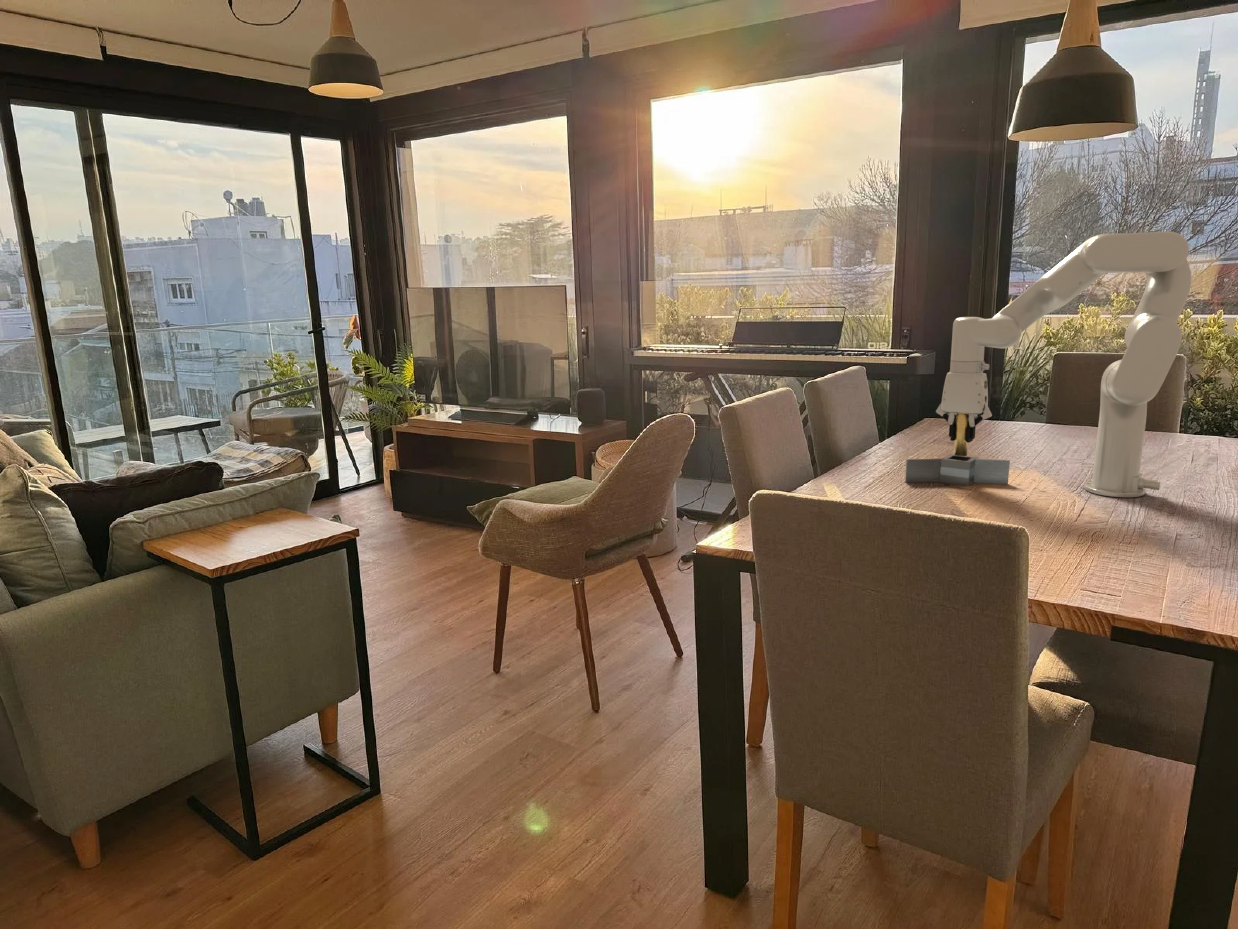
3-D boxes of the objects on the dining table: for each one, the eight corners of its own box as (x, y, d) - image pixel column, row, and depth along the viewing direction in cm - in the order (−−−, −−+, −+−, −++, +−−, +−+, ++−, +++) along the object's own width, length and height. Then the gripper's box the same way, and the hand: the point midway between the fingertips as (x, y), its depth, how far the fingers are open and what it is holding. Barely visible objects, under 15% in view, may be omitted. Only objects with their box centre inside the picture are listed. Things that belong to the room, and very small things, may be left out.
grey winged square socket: (1008, 483, 210) (1010, 460, 209) (993, 494, 200) (995, 470, 199) (922, 472, 223) (923, 450, 222) (904, 482, 213) (905, 459, 212)
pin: (968, 454, 212) (972, 407, 210) (964, 456, 210) (968, 409, 207) (955, 452, 214) (959, 406, 211) (951, 455, 212) (955, 408, 209)
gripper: (1006, 368, 205) (1000, 441, 209) (937, 364, 215) (933, 435, 219) (997, 371, 199) (991, 446, 203) (927, 367, 209) (923, 439, 213)
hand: (961, 440), depth 211 cm, fingers closed on pin, 3 cm apart
